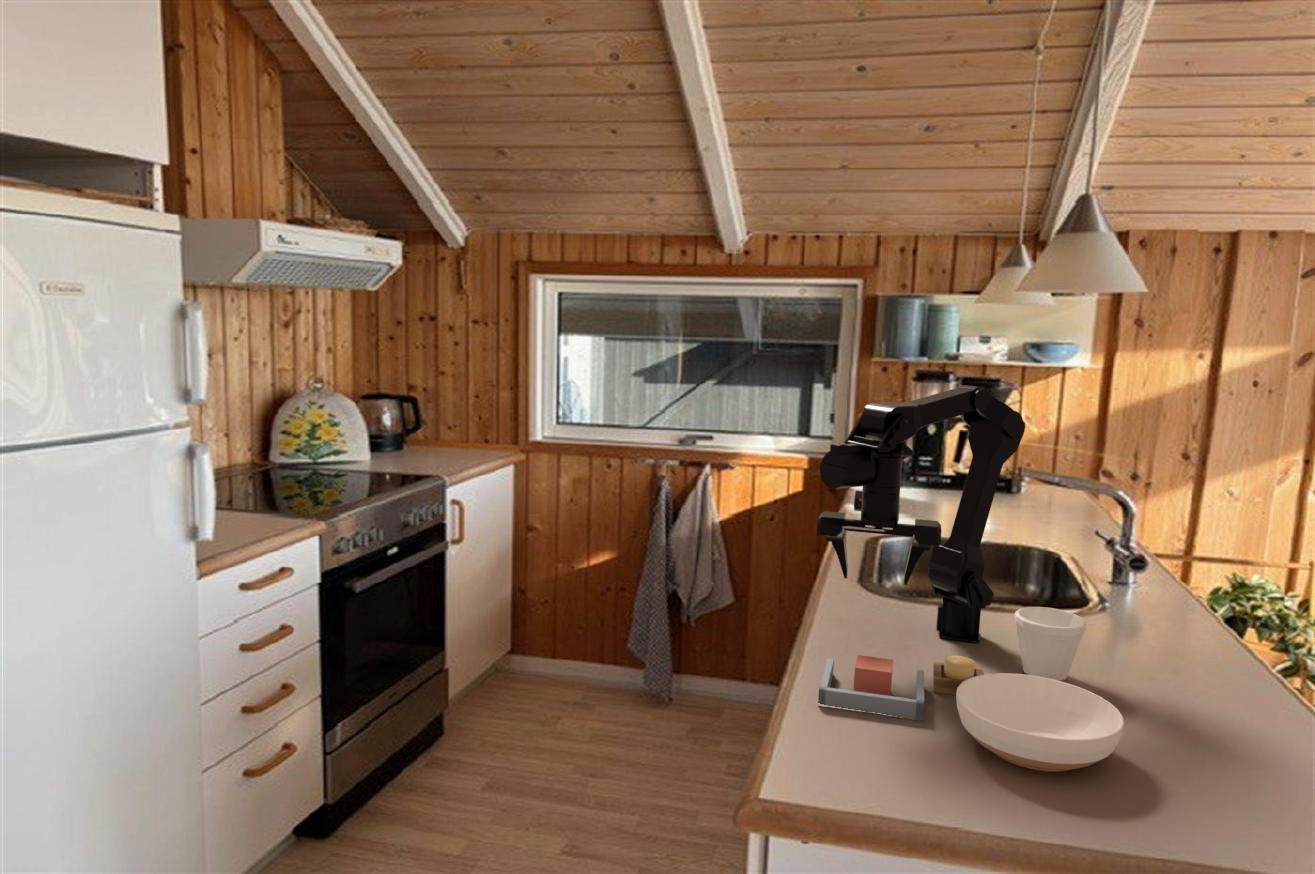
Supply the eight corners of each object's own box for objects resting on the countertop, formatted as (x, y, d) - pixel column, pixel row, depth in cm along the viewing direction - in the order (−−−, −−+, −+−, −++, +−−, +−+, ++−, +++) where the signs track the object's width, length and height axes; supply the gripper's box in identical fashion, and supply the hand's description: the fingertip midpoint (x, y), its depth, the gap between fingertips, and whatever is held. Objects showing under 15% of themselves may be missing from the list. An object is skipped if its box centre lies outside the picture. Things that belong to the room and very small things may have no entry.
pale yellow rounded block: (972, 678, 137) (974, 657, 137) (974, 689, 133) (975, 668, 133) (943, 674, 138) (944, 654, 138) (943, 685, 134) (945, 664, 134)
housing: (981, 680, 138) (982, 667, 138) (984, 698, 131) (985, 685, 131) (932, 673, 140) (933, 661, 140) (933, 691, 133) (934, 678, 133)
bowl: (1156, 778, 110) (1162, 730, 109) (1018, 799, 105) (1022, 748, 104) (1045, 709, 129) (1049, 667, 128) (922, 723, 123) (926, 679, 122)
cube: (890, 692, 133) (893, 659, 132) (889, 706, 128) (891, 672, 127) (855, 687, 134) (857, 654, 134) (852, 701, 130) (854, 667, 129)
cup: (1013, 658, 147) (1017, 602, 146) (1081, 670, 143) (1087, 613, 142) (1006, 679, 139) (1011, 620, 137) (1079, 693, 134) (1085, 632, 133)
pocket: (922, 686, 135) (923, 670, 135) (923, 721, 124) (924, 703, 123) (826, 673, 139) (827, 657, 138) (817, 706, 127) (818, 688, 127)
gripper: (942, 480, 149) (935, 573, 151) (826, 471, 154) (821, 561, 156) (944, 492, 138) (937, 593, 141) (819, 482, 143) (813, 579, 146)
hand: (875, 580), depth 146 cm, fingers open, 9 cm apart
